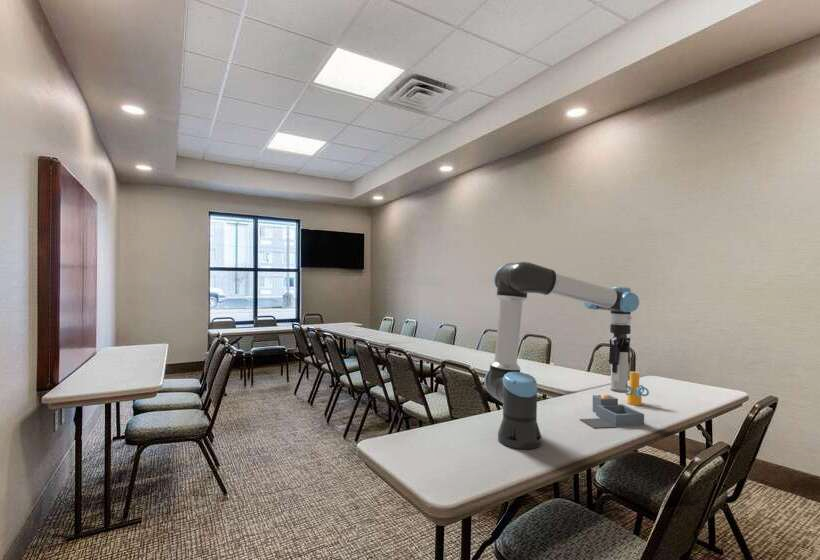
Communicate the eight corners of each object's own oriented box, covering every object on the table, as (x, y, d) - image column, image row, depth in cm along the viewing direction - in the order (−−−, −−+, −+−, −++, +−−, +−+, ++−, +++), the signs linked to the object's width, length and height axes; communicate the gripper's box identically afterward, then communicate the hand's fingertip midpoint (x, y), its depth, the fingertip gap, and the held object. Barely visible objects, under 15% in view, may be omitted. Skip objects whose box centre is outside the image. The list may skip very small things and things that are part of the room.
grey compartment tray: (615, 426, 159) (615, 408, 159) (588, 411, 178) (588, 395, 178) (644, 425, 161) (644, 407, 161) (613, 410, 180) (613, 394, 180)
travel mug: (631, 393, 163) (632, 344, 163) (614, 392, 163) (615, 343, 163) (623, 389, 169) (624, 342, 169) (607, 388, 169) (608, 341, 170)
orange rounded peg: (603, 412, 174) (603, 396, 174) (599, 410, 177) (599, 394, 177) (611, 412, 174) (611, 396, 174) (606, 410, 178) (606, 394, 178)
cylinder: (651, 408, 183) (651, 375, 184) (626, 406, 185) (627, 374, 186) (641, 400, 195) (641, 370, 195) (618, 399, 197) (618, 369, 198)
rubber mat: (593, 428, 156) (593, 427, 156) (579, 419, 166) (579, 418, 166) (617, 427, 158) (617, 426, 158) (601, 419, 167) (601, 418, 167)
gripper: (618, 325, 158) (617, 384, 157) (640, 323, 169) (639, 378, 169) (600, 324, 164) (599, 380, 163) (621, 322, 175) (620, 375, 175)
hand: (619, 379), depth 166 cm, fingers closed on travel mug, 6 cm apart
